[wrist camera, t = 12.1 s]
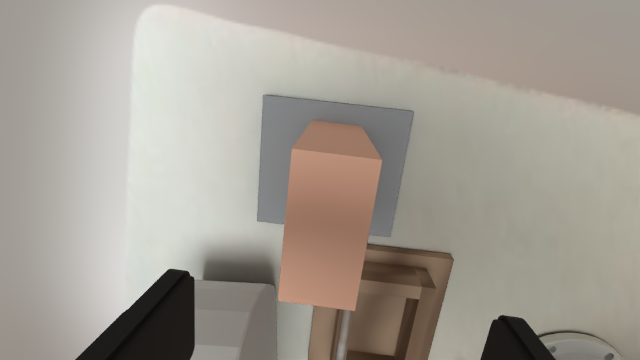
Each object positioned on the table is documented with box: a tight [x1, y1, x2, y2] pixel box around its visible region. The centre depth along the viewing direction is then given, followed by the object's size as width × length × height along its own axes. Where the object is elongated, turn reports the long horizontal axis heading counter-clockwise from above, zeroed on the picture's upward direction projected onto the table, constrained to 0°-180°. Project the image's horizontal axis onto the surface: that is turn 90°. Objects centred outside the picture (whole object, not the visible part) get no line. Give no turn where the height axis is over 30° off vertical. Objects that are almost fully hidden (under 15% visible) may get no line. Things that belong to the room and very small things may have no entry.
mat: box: [257, 95, 414, 237], centre depth 27 cm, size 12×11×1 cm
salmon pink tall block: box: [278, 120, 382, 311], centre depth 21 cm, size 4×8×12 cm, turn 173°
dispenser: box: [308, 244, 454, 360], centre depth 29 cm, size 12×14×5 cm
